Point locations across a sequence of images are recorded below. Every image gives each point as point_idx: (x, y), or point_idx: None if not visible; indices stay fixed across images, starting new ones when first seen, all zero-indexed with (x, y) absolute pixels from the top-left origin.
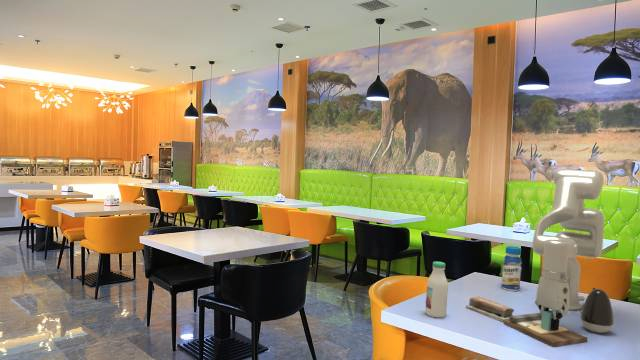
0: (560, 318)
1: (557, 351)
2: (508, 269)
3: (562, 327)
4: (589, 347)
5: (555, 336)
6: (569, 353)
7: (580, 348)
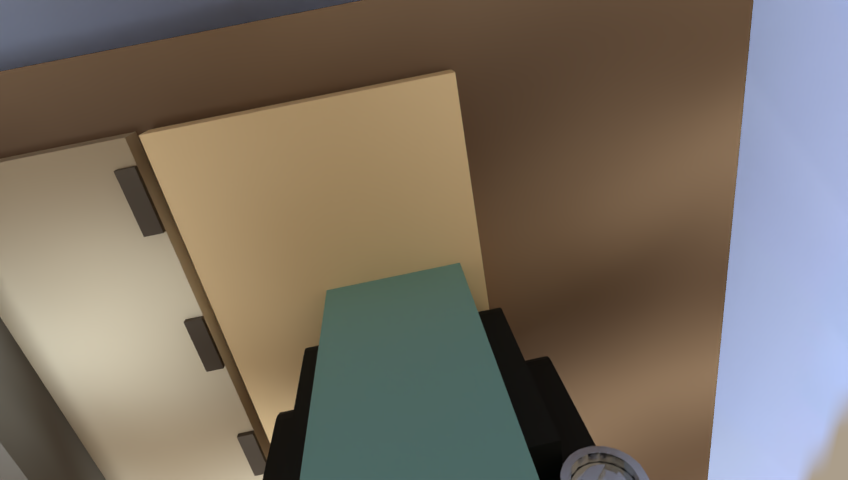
0: (629, 472)
1: (757, 467)
2: None
3: (352, 105)
4: (841, 74)
5: (590, 389)
6: (828, 402)
7: (808, 218)
